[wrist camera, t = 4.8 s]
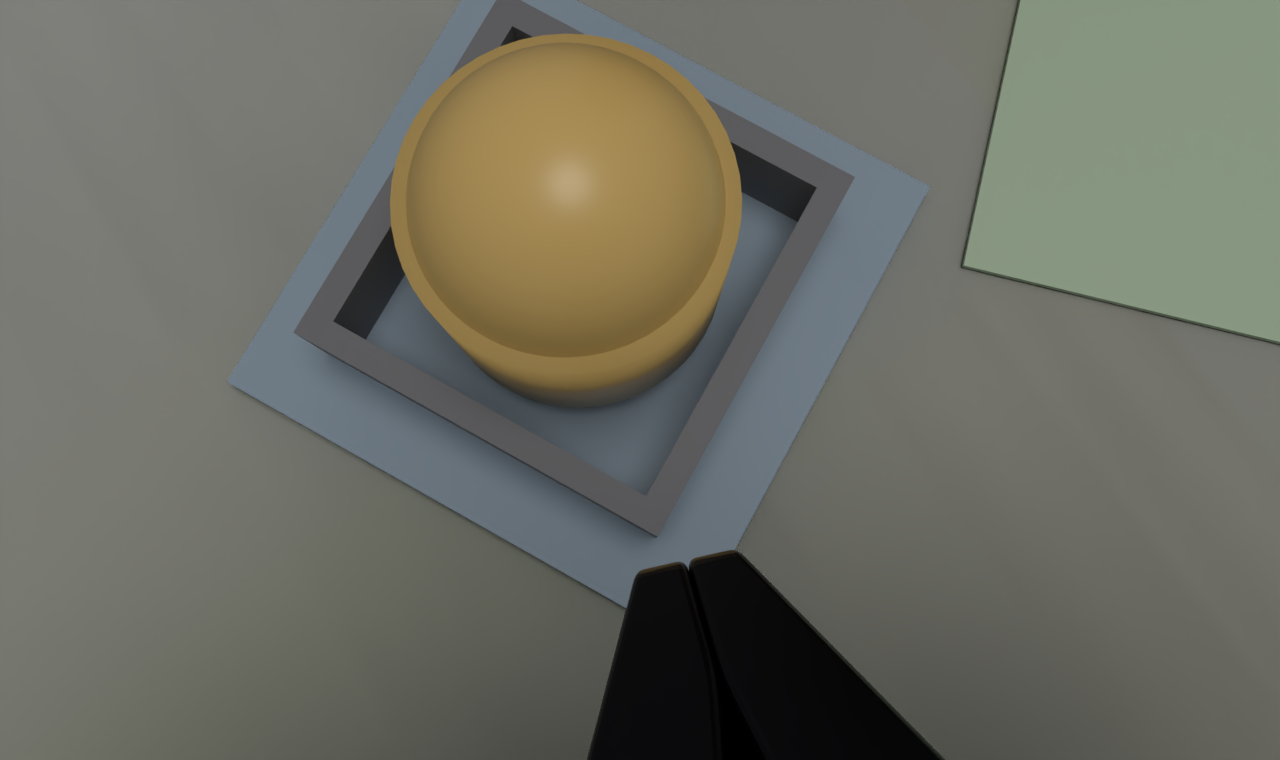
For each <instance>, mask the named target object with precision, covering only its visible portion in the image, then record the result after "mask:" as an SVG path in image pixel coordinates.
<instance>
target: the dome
mask: <svg viewBox="0 0 1280 760" xmlns="http://www.w3.org/2000/svg"><path fill="white" fill-rule="evenodd" d="M741 211H742V192H741V182H740V174H739V169H738V165H737V161H736V157H735V153H734V150H733V148H732V145H731V143H730V140H729V137H728V135H727V132H726V131H725V129H724V127H723V125H722V123H721V121H720V120H719V118H718V116H717V114H716V113H715V111H714V110H713V109H712V107H711V106H710V104H709V103H708V102H707V100H706V99H705V98H704V96H703V95H702V94H701V93H700V92H699V91H698V90H697V89H696V88H695V87H694V86H693V85H692V84H691V83H690V82H689V81H688V80H687V79H686V78H685V77H684V76H682V75H681V74H680V73H679V72H678V71H676V70H675V69H674V68H673V67H671V66H670V65H668V64H667V63H665V62H663V61H662V60H660V59H658V58H657V57H655V56H654V55H652V54H650V53H648V52H645V51H643V50H641V49H639V48H637V47H634V46H632V45H629V44H626V43H623V42H620V41H616V40H613V39H610V38H604V37H598V36H592V35H585V34H552V35H541V36H536V37H531V38H526V39H522V40H518V41H515V42H512V43H509V44H506V45H503V46H500V47H498V48H496V49H494V50H491V51H489V52H487V53H485V54H483V55H481V56H479V57H477V58H476V59H474V60H473V61H471V62H470V63H468V64H467V65H465V66H463V67H462V68H460V69H459V70H458V71H457V72H455V73H454V74H453V75H452V76H451V77H449V78H448V79H447V80H446V81H445V82H444V83H442V84H441V86H440V87H439V88H438V89H437V90H436V91H435V92H434V93H433V94H432V95H431V96H430V98H429V99H428V100H427V101H426V103H425V104H424V105H423V107H422V108H421V110H420V111H419V112H418V114H417V115H416V117H415V118H414V120H413V122H412V124H411V126H410V128H409V130H408V131H407V133H406V135H405V137H404V140H403V142H402V145H401V148H400V151H399V153H398V156H397V159H396V163H395V168H394V172H393V177H392V183H391V195H390V216H391V228H392V233H393V238H394V243H395V248H396V251H397V254H398V257H399V260H400V263H401V266H402V269H403V271H404V273H405V275H406V277H407V279H408V281H409V283H410V285H411V287H412V289H413V290H414V292H415V293H416V295H417V296H418V297H419V299H420V300H421V302H422V303H423V305H424V306H425V308H426V309H427V310H428V311H429V312H430V313H431V314H432V316H433V317H434V318H435V319H436V320H437V321H438V322H439V324H440V325H441V326H442V327H443V328H444V329H445V330H446V331H447V333H448V334H449V335H450V336H451V337H452V338H453V339H454V341H455V342H456V343H457V344H458V345H459V346H460V347H461V348H462V350H463V351H464V352H465V353H466V354H467V355H468V356H469V357H470V359H471V360H472V361H473V362H474V363H475V364H476V365H477V366H478V367H479V368H480V369H481V370H482V371H483V372H484V373H486V374H487V375H488V376H489V377H490V378H491V379H493V380H494V381H496V382H497V383H499V384H500V385H502V386H503V387H505V388H507V389H508V390H510V391H512V392H514V393H516V394H519V395H521V396H523V397H525V398H528V399H531V400H534V401H537V402H540V403H544V404H549V405H555V406H560V407H576V408H584V407H597V406H603V405H608V404H613V403H617V402H621V401H623V400H626V399H629V398H632V397H635V396H637V395H639V394H641V393H643V392H645V391H647V390H649V389H651V388H653V387H654V386H656V385H657V384H659V383H660V382H662V381H663V380H665V379H666V378H668V377H669V376H670V375H671V374H672V373H673V372H675V371H676V370H677V369H678V368H679V367H680V366H681V365H682V364H683V363H684V362H685V361H686V360H687V359H688V357H689V356H690V355H691V354H692V353H693V352H694V350H695V349H696V347H697V346H698V344H699V343H700V341H701V340H702V338H703V337H704V335H705V333H706V331H707V329H708V327H709V325H710V323H711V320H712V318H713V316H714V313H715V309H716V306H717V303H718V300H719V297H720V294H721V291H722V288H723V285H724V282H725V279H726V275H727V272H728V269H729V266H730V263H731V260H732V257H733V254H734V251H735V247H736V244H737V241H738V235H739V229H740V224H741Z"/></svg>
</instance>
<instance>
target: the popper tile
mask: <svg viewBox="0 0 1280 760" xmlns="http://www.w3.org/2000/svg"><path fill="white" fill-rule="evenodd" d="M552 34H585V35H592V36H598V37H604V38H610V39H613V40H616V41H620V42H623V43H626V44H629V45H632V46H634V47H637V48H639V49H641V50H643V51H645V52H648V53H650V54H652V55H654V56H655V57H657V58H658V59H660V60H662V61H663V62H665V63H667V64H668V65H670V66H671V67H673V68H674V69H675V70H676V71H678V72H679V73H680V74H681V75H682V76H684V77H685V78H686V79H687V80H688V81H689V82H690V83H691V84H692V85H693V86H694V87H695V88H696V89H697V90H698V91H699V92H700V93H701V94H702V95H703V96H704V98H705V99H706V100H707V102H708V103H709V104H710V106H711V107H712V109H713V110H714V111H715V113H716V114H717V116H718V118H719V120H720V121H721V123H722V125H723V127H724V129H725V131H726V132H727V135H728V137H729V140H730V143H731V145H732V148H733V150H734V153H735V157H736V161H737V165H738V169H739V174H740V182H741V192H742V211H741V224H740V229H739V235H738V241H737V244H736V247H735V251H734V254H733V257H732V260H731V263H730V266H729V269H728V272H727V275H726V279H725V282H724V285H723V288H722V291H721V294H720V297H719V300H718V303H717V306H716V309H715V313H714V316H713V318H712V320H711V323H710V325H709V327H708V329H707V331H706V333H705V335H704V337H703V338H702V340H701V341H700V343H699V344H698V346H697V347H696V349H695V350H694V352H693V353H692V354H691V355H690V356H689V357H688V359H687V360H686V361H685V362H684V363H683V364H682V365H681V366H680V367H679V368H678V369H677V370H676V371H675V372H673V373H672V374H671V375H670V376H669V377H668V378H666V379H665V380H663V381H662V382H660V383H659V384H657V385H656V386H654V387H653V388H651V389H649V390H647V391H645V392H643V393H641V394H639V395H637V396H635V397H632V398H629V399H626V400H623V401H621V402H617V403H613V404H608V405H603V406H597V407H584V408H576V407H560V406H555V405H549V404H544V403H540V402H537V401H534V400H531V399H528V398H525V397H523V396H521V395H519V394H516V393H514V392H512V391H510V390H508V389H507V388H505V387H503V386H502V385H500V384H499V383H497V382H496V381H494V380H493V379H491V378H490V377H489V376H488V375H487V374H486V373H484V372H483V371H482V370H481V369H480V368H479V367H478V366H477V365H476V364H475V363H474V362H473V361H472V360H471V359H470V357H469V356H468V355H467V354H466V353H465V352H464V351H463V350H462V348H461V347H460V346H459V345H458V344H457V343H456V342H455V341H454V339H453V338H452V337H451V336H450V335H449V334H448V333H447V331H446V330H445V329H444V328H443V327H442V326H441V325H440V324H439V322H438V321H437V320H436V319H435V318H434V317H433V316H432V314H431V313H430V312H429V311H428V310H427V309H426V308H425V306H424V305H423V303H422V302H421V300H420V299H419V297H418V296H417V295H416V293H415V292H414V290H413V289H412V287H411V285H410V283H409V281H408V279H407V277H406V275H405V273H404V271H403V269H402V266H401V263H400V260H399V257H398V254H397V251H396V248H395V243H394V238H393V233H392V228H391V216H390V195H391V183H392V177H393V172H394V168H395V163H396V159H397V156H398V153H399V151H400V148H401V145H402V142H403V140H404V137H405V135H406V133H407V131H408V130H409V128H410V126H411V124H412V122H413V120H414V118H415V117H416V115H417V114H418V112H419V111H420V110H421V108H422V107H423V105H424V104H425V103H426V101H427V100H428V99H429V98H430V96H431V95H432V94H433V93H434V92H435V91H436V90H437V89H438V88H439V87H440V86H441V84H442V83H444V82H445V81H446V80H447V79H448V78H449V77H451V76H452V75H453V74H454V73H455V72H457V71H458V70H459V69H460V68H462V67H463V66H465V65H467V64H468V63H470V62H471V61H473V60H474V59H476V58H477V57H479V56H481V55H483V54H485V53H487V52H489V51H491V50H494V49H496V48H498V47H500V46H503V45H506V44H509V43H512V42H515V41H518V40H522V39H526V38H531V37H536V36H541V35H552ZM929 188H930V186H928V185H927V184H925V183H923V182H921V181H919V180H917V179H915V178H913V177H911V176H909V175H908V174H906V173H904V172H902V171H900V170H898V169H896V168H894V167H892V166H890V165H889V164H887V163H885V162H883V161H881V160H879V159H877V158H875V157H873V156H871V155H870V154H868V153H866V152H864V151H862V150H860V149H858V148H856V147H854V146H852V145H851V144H849V143H847V142H845V141H843V140H841V139H839V138H837V137H835V136H833V135H832V134H830V133H828V132H826V131H824V130H822V129H820V128H818V127H816V126H814V125H813V124H811V123H809V122H807V121H805V120H803V119H801V118H799V117H797V116H795V115H794V114H792V113H790V112H788V111H786V110H784V109H782V108H780V107H778V106H776V105H775V104H773V103H771V102H769V101H767V100H765V99H763V98H761V97H759V96H757V95H756V94H754V93H752V92H750V91H748V90H746V89H744V88H742V87H740V86H738V85H737V84H735V83H733V82H731V81H729V80H727V79H725V78H723V77H721V76H719V75H718V74H716V73H714V72H712V71H710V70H708V69H706V68H704V67H702V66H700V65H699V64H697V63H695V62H693V61H691V60H689V59H687V58H685V57H683V56H681V55H680V54H678V53H676V52H674V51H672V50H670V49H668V48H666V47H664V46H662V45H661V44H659V43H657V42H655V41H653V40H651V39H649V38H647V37H645V36H643V35H642V34H640V33H638V32H636V31H634V30H632V29H630V28H628V27H626V26H624V25H623V24H621V23H619V22H617V21H615V20H613V19H611V18H609V17H607V16H605V15H604V14H602V13H600V12H598V11H596V10H594V9H592V8H590V7H588V6H586V5H585V4H583V3H581V2H579V1H577V0H461V2H460V4H459V5H458V7H457V9H456V10H455V12H454V13H453V15H452V17H451V18H450V20H449V22H448V23H447V25H446V26H445V28H444V30H443V31H442V33H441V35H440V36H439V38H438V39H437V41H436V43H435V44H434V46H433V48H432V49H431V51H430V52H429V54H428V56H427V57H426V59H425V61H424V62H423V64H422V65H421V67H420V69H419V70H418V72H417V74H416V75H415V77H414V78H413V80H412V82H411V83H410V85H409V87H408V88H407V90H406V91H405V93H404V95H403V96H402V98H401V100H400V101H399V103H398V104H397V106H396V108H395V109H394V111H393V113H392V114H391V116H390V117H389V119H388V121H387V122H386V124H385V126H384V127H383V129H382V130H381V132H380V134H379V135H378V137H377V139H376V140H375V142H374V143H373V145H372V147H371V148H370V150H369V152H368V153H367V155H366V156H365V158H364V160H363V161H362V163H361V165H360V166H359V168H358V169H357V171H356V173H355V174H354V176H353V178H352V179H351V181H350V182H349V184H348V186H347V187H346V189H345V190H344V192H343V194H342V195H341V197H340V199H339V200H338V202H337V203H336V205H335V207H334V208H333V210H332V212H331V213H330V215H329V216H328V218H327V220H326V221H325V223H324V225H323V226H322V228H321V229H320V231H319V233H318V234H317V236H316V238H315V239H314V241H313V242H312V244H311V246H310V247H309V249H308V251H307V252H306V254H305V255H304V257H303V259H302V260H301V262H300V264H299V265H298V267H297V268H296V270H295V272H294V273H293V275H292V277H291V278H290V280H289V281H288V283H287V285H286V286H285V288H284V290H283V291H282V293H281V294H280V296H279V298H278V299H277V301H276V303H275V304H274V306H273V307H272V309H271V311H270V312H269V314H268V316H267V317H266V319H265V320H264V322H263V324H262V325H261V327H260V329H259V330H258V332H257V333H256V335H255V337H254V338H253V340H252V342H251V343H250V345H249V346H248V348H247V350H246V351H245V353H244V355H243V356H242V358H241V359H240V361H239V363H238V364H237V366H236V368H235V369H234V371H233V372H232V374H231V376H230V377H229V379H228V381H227V382H228V383H230V384H231V385H233V386H235V387H237V388H238V389H240V390H242V391H244V392H245V393H247V394H249V395H251V396H253V397H254V398H256V399H258V400H260V401H261V402H263V403H265V404H267V405H268V406H270V407H272V408H274V409H275V410H277V411H279V412H281V413H283V414H284V415H286V416H288V417H290V418H291V419H293V420H295V421H297V422H298V423H300V424H302V425H304V426H305V427H307V428H309V429H311V430H313V431H314V432H316V433H318V434H320V435H321V436H323V437H325V438H327V439H328V440H330V441H332V442H334V443H335V444H337V445H339V446H341V447H343V448H344V449H346V450H348V451H350V452H351V453H353V454H355V455H357V456H358V457H360V458H362V459H364V460H365V461H367V462H369V463H371V464H372V465H374V466H376V467H378V468H380V469H381V470H383V471H385V472H387V473H388V474H390V475H392V476H394V477H395V478H397V479H399V480H401V481H402V482H404V483H406V484H408V485H410V486H411V487H413V488H415V489H417V490H418V491H420V492H422V493H424V494H425V495H427V496H429V497H431V498H432V499H434V500H436V501H438V502H440V503H441V504H443V505H445V506H447V507H448V508H450V509H452V510H454V511H455V512H457V513H459V514H461V515H462V516H464V517H466V518H468V519H470V520H471V521H473V522H475V523H477V524H478V525H480V526H482V527H484V528H485V529H487V530H489V531H491V532H492V533H494V534H496V535H498V536H500V537H501V538H503V539H505V540H507V541H508V542H510V543H512V544H514V545H515V546H517V547H519V548H521V549H522V550H524V551H526V552H528V553H530V554H531V555H533V556H535V557H537V558H538V559H540V560H542V561H544V562H545V563H547V564H549V565H551V566H552V567H554V568H556V569H558V570H560V571H561V572H563V573H565V574H567V575H568V576H570V577H572V578H574V579H575V580H577V581H579V582H581V583H582V584H584V585H586V586H588V587H589V588H591V589H593V590H595V591H597V592H598V593H600V594H602V595H604V596H605V597H607V598H609V599H611V600H612V601H614V602H616V603H618V604H619V605H621V606H623V607H625V608H627V604H628V600H629V596H630V592H631V588H632V585H633V581H634V578H635V576H636V574H637V573H638V572H639V571H641V570H643V569H647V568H652V567H656V566H661V565H665V564H670V563H674V562H682V563H684V564H685V565H686V566H687V568H688V570H689V564H690V561H691V560H692V559H694V558H696V557H701V556H705V555H710V554H714V553H719V552H723V551H727V550H735V549H736V547H737V545H738V543H739V541H740V539H741V537H742V536H743V534H744V532H745V530H746V528H747V526H748V524H749V522H750V521H751V519H752V517H753V515H754V513H755V511H756V509H757V508H758V506H759V504H760V502H761V500H762V498H763V496H764V495H765V493H766V491H767V489H768V487H769V485H770V483H771V482H772V480H773V478H774V476H775V474H776V472H777V470H778V469H779V467H780V465H781V463H782V461H783V459H784V457H785V456H786V454H787V452H788V450H789V448H790V446H791V444H792V443H793V441H794V439H795V437H796V435H797V433H798V431H799V430H800V428H801V426H802V424H803V422H804V420H805V418H806V417H807V415H808V413H809V411H810V409H811V407H812V405H813V404H814V402H815V400H816V398H817V396H818V394H819V392H820V391H821V389H822V387H823V385H824V383H825V381H826V379H827V378H828V376H829V374H830V372H831V370H832V368H833V366H834V365H835V363H836V361H837V359H838V357H839V355H840V353H841V351H842V350H843V348H844V346H845V344H846V342H847V340H848V338H849V337H850V335H851V333H852V331H853V329H854V327H855V325H856V324H857V322H858V320H859V318H860V316H861V314H862V312H863V311H864V309H865V307H866V305H867V303H868V301H869V299H870V298H871V296H872V294H873V292H874V290H875V288H876V286H877V285H878V283H879V281H880V279H881V277H882V275H883V273H884V272H885V270H886V268H887V266H888V264H889V262H890V260H891V259H892V257H893V255H894V253H895V251H896V249H897V247H898V246H899V244H900V242H901V240H902V238H903V236H904V234H905V233H906V231H907V229H908V227H909V225H910V223H911V221H912V220H913V218H914V216H915V214H916V212H917V210H918V208H919V207H920V205H921V203H922V201H923V199H924V197H925V195H926V194H927V192H928V190H929Z"/></svg>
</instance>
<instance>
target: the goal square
mask: <svg viewBox="0 0 1280 760" xmlns="http://www.w3.org/2000/svg"><path fill="white" fill-rule="evenodd" d="M962 267H963V268H967V269H971V270H975V271H979V272H983V273H988V274H992V275H996V276H1000V277H1004V278H1008V279H1012V280H1016V281H1021V282H1025V283H1029V284H1033V285H1037V286H1041V287H1045V288H1049V289H1054V290H1058V291H1062V292H1066V293H1070V294H1074V295H1078V296H1082V297H1087V298H1091V299H1095V300H1099V301H1103V302H1107V303H1111V304H1115V305H1120V306H1124V307H1128V308H1132V309H1136V310H1140V311H1144V312H1148V313H1153V314H1157V315H1161V316H1165V317H1169V318H1173V319H1177V320H1181V321H1186V322H1190V323H1194V324H1198V325H1202V326H1206V327H1210V328H1214V329H1219V330H1223V331H1227V332H1231V333H1235V334H1239V335H1243V336H1247V337H1251V338H1256V339H1260V340H1264V341H1268V342H1272V343H1276V344H1280V0H1019V2H1018V6H1017V11H1016V16H1015V20H1014V25H1013V29H1012V34H1011V39H1010V43H1009V48H1008V53H1007V57H1006V62H1005V67H1004V71H1003V76H1002V81H1001V85H1000V90H999V95H998V99H997V104H996V109H995V113H994V118H993V122H992V127H991V132H990V136H989V141H988V146H987V150H986V155H985V160H984V164H983V169H982V174H981V178H980V183H979V188H978V192H977V197H976V202H975V206H974V211H973V216H972V220H971V225H970V229H969V234H968V239H967V243H966V248H965V253H964V257H963V262H962Z"/></svg>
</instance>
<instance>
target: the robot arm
mask: <svg viewBox="0 0 1280 760" xmlns="http://www.w3.org/2000/svg"><path fill="white" fill-rule="evenodd" d="M587 760H945V759H944V758H943V757H942V756H941V755H940V754H939V753H938V752H937V751H936V750H935V749H934V748H933V747H932V746H931V745H930V744H929V743H928V742H927V741H926V740H925V739H924V738H923V737H922V736H921V735H920V734H919V733H918V732H917V731H916V730H915V729H914V728H913V727H912V726H911V725H910V724H909V723H908V722H907V721H906V720H905V719H904V718H903V717H902V716H901V715H900V714H899V713H898V712H897V711H896V710H895V709H894V707H893V706H892V705H891V704H890V703H889V702H888V701H887V700H886V699H885V698H884V697H883V696H882V695H881V694H880V693H879V692H878V691H877V690H876V689H875V688H874V687H873V686H872V685H871V684H870V683H869V682H868V681H867V680H866V679H865V678H864V677H863V676H862V675H861V674H860V673H859V672H858V671H857V670H856V669H855V668H854V667H853V666H852V665H851V664H850V663H849V662H848V661H847V660H846V659H845V658H844V657H843V656H842V655H841V654H840V653H839V652H838V651H837V650H836V649H835V648H834V647H833V646H832V645H831V644H830V643H829V642H828V641H827V640H826V639H825V638H824V637H823V636H822V634H821V633H820V632H819V631H818V630H817V629H816V628H815V627H814V626H813V625H812V624H811V623H810V622H809V621H808V620H807V619H806V618H805V617H804V616H803V615H802V614H801V613H800V612H799V611H798V610H797V609H796V608H795V607H794V606H793V605H792V604H791V603H790V602H789V601H788V600H787V599H786V598H785V597H784V596H783V595H782V594H781V593H780V592H779V591H778V590H777V589H776V588H775V587H774V586H773V585H772V584H771V583H770V582H769V581H768V580H767V579H766V578H765V577H764V576H763V575H762V574H761V573H760V572H759V571H758V570H757V569H756V568H755V567H754V566H753V565H752V564H751V562H750V561H749V560H748V559H747V558H746V557H744V556H743V555H742V554H741V553H740V552H738V551H735V550H727V551H723V552H719V553H714V554H710V555H705V556H701V557H696V558H694V559H692V560H691V561H690V564H689V570H688V568H687V566H686V565H685V564H684V563H682V562H674V563H670V564H665V565H661V566H656V567H652V568H647V569H643V570H641V571H639V572H638V573H637V574H636V576H635V578H634V581H633V585H632V588H631V592H630V596H629V600H628V604H627V608H626V612H625V615H624V619H623V623H622V627H621V631H620V635H619V639H618V642H617V646H616V650H615V654H614V658H613V662H612V666H611V669H610V673H609V677H608V681H607V685H606V689H605V693H604V696H603V700H602V704H601V708H600V712H599V716H598V720H597V723H596V727H595V731H594V735H593V739H592V743H591V747H590V750H589V754H588V758H587Z"/></svg>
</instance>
